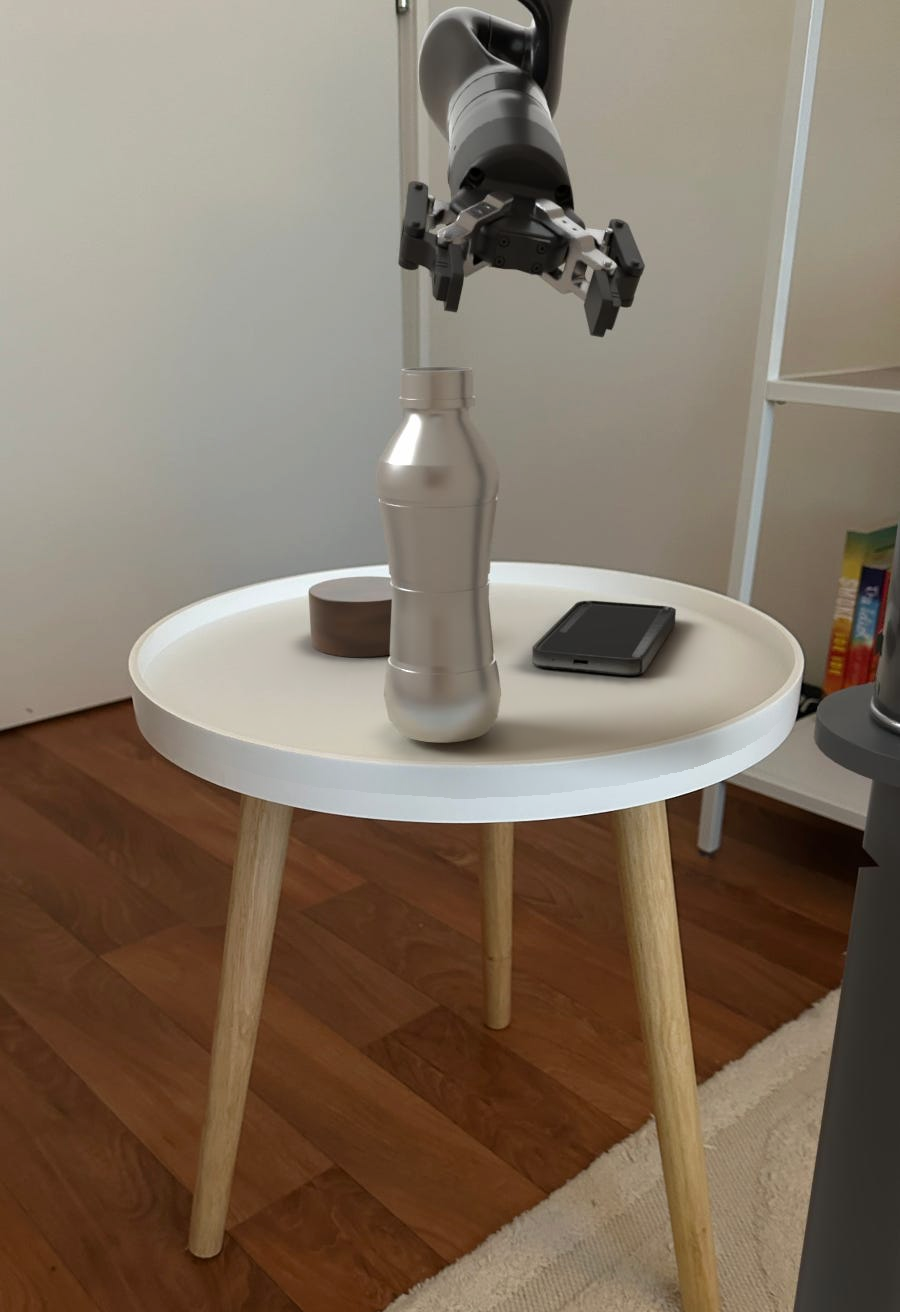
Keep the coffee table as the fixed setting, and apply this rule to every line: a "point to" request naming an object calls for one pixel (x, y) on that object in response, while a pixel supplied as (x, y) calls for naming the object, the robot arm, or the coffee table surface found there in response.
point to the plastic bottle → (439, 561)
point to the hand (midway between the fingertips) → (529, 309)
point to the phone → (605, 638)
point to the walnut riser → (351, 616)
